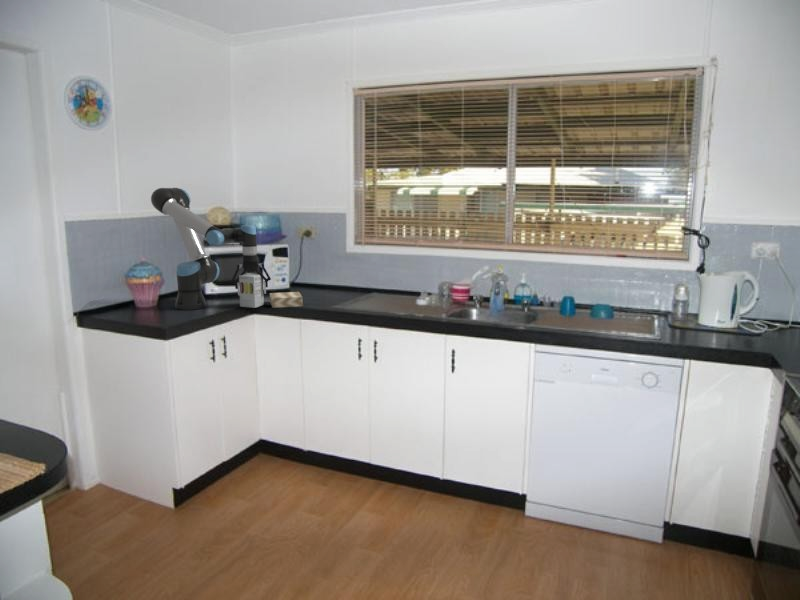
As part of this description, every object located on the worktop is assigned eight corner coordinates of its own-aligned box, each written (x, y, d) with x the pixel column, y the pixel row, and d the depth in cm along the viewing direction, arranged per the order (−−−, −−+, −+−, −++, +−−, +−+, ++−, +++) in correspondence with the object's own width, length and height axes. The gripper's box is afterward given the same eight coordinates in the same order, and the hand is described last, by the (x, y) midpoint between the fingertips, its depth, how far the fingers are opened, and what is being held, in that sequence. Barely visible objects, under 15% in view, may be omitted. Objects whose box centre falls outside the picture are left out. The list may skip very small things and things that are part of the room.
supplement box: (239, 306, 299) (238, 275, 296) (248, 303, 308) (247, 273, 304) (255, 308, 296) (254, 276, 293) (264, 304, 305) (263, 273, 302)
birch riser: (272, 307, 297) (272, 298, 296) (269, 301, 312) (269, 293, 311) (302, 306, 302) (302, 297, 301) (299, 300, 317) (298, 291, 316)
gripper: (225, 256, 290) (227, 296, 294) (274, 254, 297) (276, 294, 301) (225, 254, 297) (227, 294, 301) (273, 252, 304) (275, 291, 308)
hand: (252, 294), depth 301 cm, fingers open, 13 cm apart
